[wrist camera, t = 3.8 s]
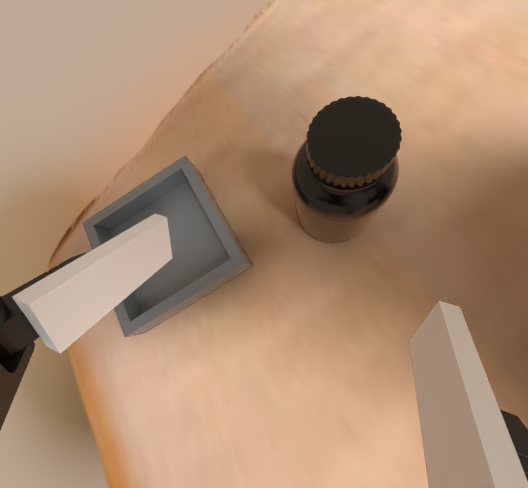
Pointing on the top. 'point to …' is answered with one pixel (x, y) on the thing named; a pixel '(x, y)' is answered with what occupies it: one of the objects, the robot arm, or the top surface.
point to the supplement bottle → (346, 167)
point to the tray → (173, 245)
